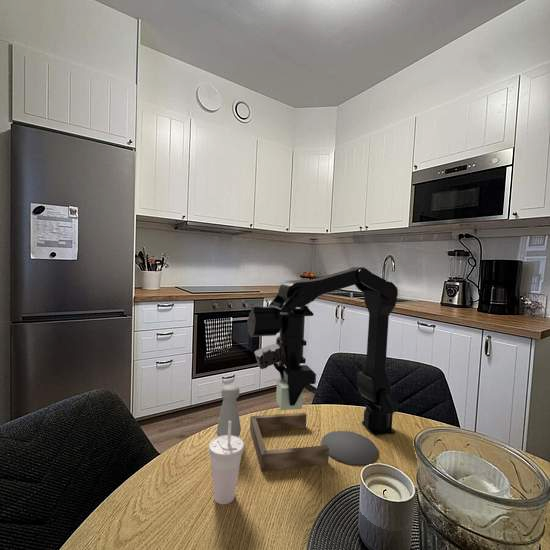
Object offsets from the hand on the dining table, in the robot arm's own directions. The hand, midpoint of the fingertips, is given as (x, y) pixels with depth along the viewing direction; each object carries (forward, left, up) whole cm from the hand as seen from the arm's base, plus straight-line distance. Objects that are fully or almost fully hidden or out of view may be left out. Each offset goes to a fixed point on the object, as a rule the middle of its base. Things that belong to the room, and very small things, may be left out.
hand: (289, 400), depth 73 cm
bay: (+1, 0, -11) cm, 11 cm away
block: (0, 0, -1) cm, 1 cm away
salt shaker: (+14, -4, -11) cm, 18 cm away
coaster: (-14, +3, -11) cm, 18 cm away
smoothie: (+16, +14, -11) cm, 24 cm away
